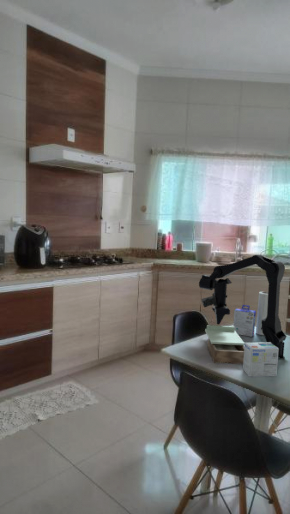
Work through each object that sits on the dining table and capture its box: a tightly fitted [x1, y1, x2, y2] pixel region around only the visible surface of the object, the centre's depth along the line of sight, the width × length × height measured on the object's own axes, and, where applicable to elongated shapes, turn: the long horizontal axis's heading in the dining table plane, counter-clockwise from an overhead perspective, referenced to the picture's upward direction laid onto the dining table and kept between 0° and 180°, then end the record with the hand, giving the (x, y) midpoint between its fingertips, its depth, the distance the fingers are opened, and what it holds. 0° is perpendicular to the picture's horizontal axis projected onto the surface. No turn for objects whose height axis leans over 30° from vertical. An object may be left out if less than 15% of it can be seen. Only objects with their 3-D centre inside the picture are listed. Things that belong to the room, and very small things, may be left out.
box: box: [207, 337, 244, 365], centre depth 142 cm, size 13×16×5 cm
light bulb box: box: [242, 341, 279, 378], centre depth 127 cm, size 11×7×11 cm, turn 98°
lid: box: [204, 324, 246, 346], centre depth 149 cm, size 14×17×3 cm
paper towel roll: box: [255, 291, 268, 337], centre depth 172 cm, size 7×6×21 cm
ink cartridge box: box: [232, 304, 257, 338], centre depth 172 cm, size 10×6×14 cm, turn 64°
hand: (218, 324), depth 163 cm, fingers closed
